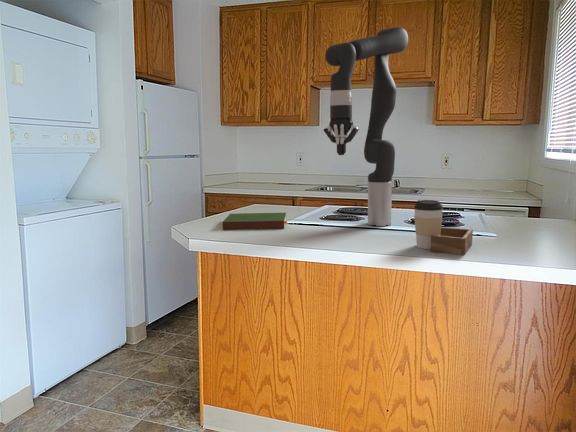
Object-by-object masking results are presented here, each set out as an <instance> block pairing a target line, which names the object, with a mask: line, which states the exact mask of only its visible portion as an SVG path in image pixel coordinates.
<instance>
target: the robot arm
mask: <svg viewBox="0 0 576 432" xmlns="http://www.w3.org/2000/svg"><path fill="white" fill-rule="evenodd" d="M408 43H409V35H408V32H407V31H406V29H404V28H403V27H398V26H395V27H391V28H389V27H388V28H384V29H380V30H379V31H378V32H377V33H376V36H370V37H362V38H358V39H355V40H351V41H348V42H342V43H337V44H333V45H332V44H331V45H330V46H329V47H328V48H327V49H326V51H325V55H324V56H325V57H324V58H325V61H326V62H327V64H328V65H329V66H332V67H339V68H338V71H336V72H334V73H332V74H331V76H330V94H329V119H330V121H329V124H328V126H327V127H326V128H324V129H323V132H324V133H325V135H326V136H327V138H328V139H329V140H330V142H331V143H334V144H336V154H338V155H337V156H344V155H345V154H346V152H347V144H348V143H351V142H352V140H354V137H355V136H356V135H357V134H358V132H359V130H360V128H359V127H357V126H355V125H354V121H353V97H352V96H353V95H352V76H353V73H354V72H353V71H354V67H355V65H356V62H359V61H362V60H365V59H369V58H371V57H374V72H373V84H372V85H373V86H372V91H371V92H372V93H371V100H370V110H369V111H370V112H369V121H368V127H367V132H366V137H365V141H364V148H363V156H364V159H365V161H366V162H367V163H369V164H375V168H374V169H375V170H373V172H370V173H369V174H368V176H367V225H369V226H372V225H376V226H375V227H387V226H386V225H388V226H391V225H392V193H393V192H392V190H393V189H392V187H393V186H392V184H393V183H392V182H393V181H392V180H393V176H394V174H395V173H394V172H395V161H396V159H395V158H396V150H395V145H394V144H393V142H391V141H390V140H387V139H383V133H384V130H385V129H384V128H385V127H386V124H387V123H388V120H389V119H390V117H391V116H392V113H393V112H394V110H395V107H396V99H397V92H398V91H397V86H396V83H395V81H394V78H393V76H392V74H391V73H390V68H389V57H390V55H394V54H399V53H401V52H404V50H406V48H407V46H408V45H409V44H408Z"/></svg>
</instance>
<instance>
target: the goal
mask: <svg viewBox="0 0 576 432" xmlns="http://www.w3.org/2000/svg"><path fill="white" fill-rule="evenodd" d="M473 233H474V230H473V229H471V228H470V229H469V228H457V227H445V226H443V227H442V226H441V232H440V236H437V235H431V249H430V253H431V252H432V253H442V254H451V255H453V254H454V255H462V256H465V255H466V253H468V251H469V249H470V248H471V247H472V245H473Z"/></svg>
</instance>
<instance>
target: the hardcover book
mask: <svg viewBox="0 0 576 432" xmlns="http://www.w3.org/2000/svg"><path fill="white" fill-rule="evenodd" d="M286 215H287V212H250V213H247V212H244V213H230V214H228V215H227V216H226V217H225V218H224V220H223V221H222V230H223V231H242V230H243V231H244V230H245V231H247V230H250V231H251V230H285V225H286V224H287V219H286V217H287V216H286Z"/></svg>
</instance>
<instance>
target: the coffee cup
mask: <svg viewBox="0 0 576 432" xmlns="http://www.w3.org/2000/svg"><path fill="white" fill-rule="evenodd" d="M413 210H414V230H415V238H416V239H415V241H416V247H417V248H418V249H425V250H431V235H437V236H440V232H441V227H442V224H443V223H442V222H443V210H444V207H443V205H442V204H441V202H440V201H439V200H433V199H430V200H429V199H424V200H423V199H422V200H421V199H418V200H417V203H415V204H414V206H413Z"/></svg>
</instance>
